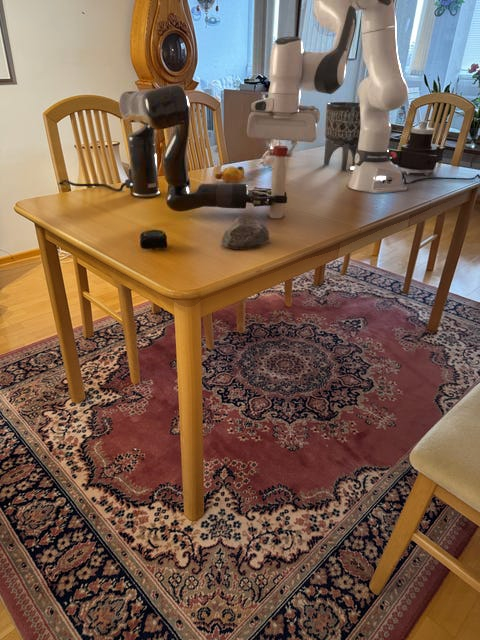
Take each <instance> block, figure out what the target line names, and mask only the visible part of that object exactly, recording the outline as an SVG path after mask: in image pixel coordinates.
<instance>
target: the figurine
mask: <svg viewBox="0 0 480 640" xmlns="http://www.w3.org/2000/svg"><path fill="white" fill-rule="evenodd" d="M275 143H276V144H275ZM270 144H271V147H272V149H274V146H282V142H281V140H273V139H272V142H271V143H270ZM275 157H276V156H270V155H269V149H268V150H266V151H265V153H263V155H262V157H261V159H260V160H259V161H258V165H259V166H261V167H264V168H266V167H267V168H270V169H273V164H274V161H275Z"/></svg>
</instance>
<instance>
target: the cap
mask: <svg viewBox="0 0 480 640" xmlns="http://www.w3.org/2000/svg"><path fill="white" fill-rule="evenodd" d="M287 150H289V146H287V145H280V146H274V152H273V153H274V156H280V157H284V156H285V157H286V155H287Z"/></svg>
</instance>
